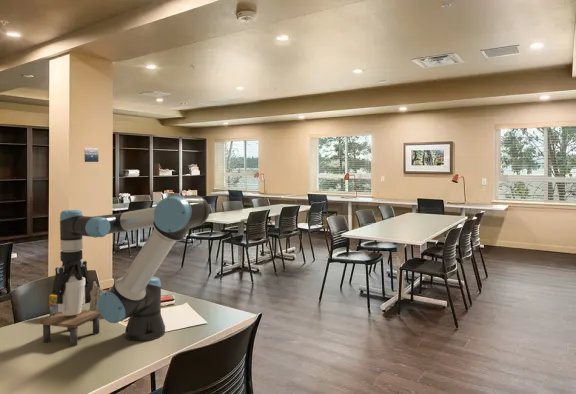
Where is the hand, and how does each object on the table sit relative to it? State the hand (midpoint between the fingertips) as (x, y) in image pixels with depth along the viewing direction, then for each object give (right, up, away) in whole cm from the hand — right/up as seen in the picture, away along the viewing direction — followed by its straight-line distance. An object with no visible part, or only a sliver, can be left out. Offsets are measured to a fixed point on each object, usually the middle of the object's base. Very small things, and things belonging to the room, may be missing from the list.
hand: (72, 307), depth 160 cm
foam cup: (0, -2, 0) cm, 2 cm away
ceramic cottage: (+1, -10, +30) cm, 32 cm away
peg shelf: (0, -12, +1) cm, 12 cm away
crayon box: (-18, -10, +22) cm, 30 cm away
